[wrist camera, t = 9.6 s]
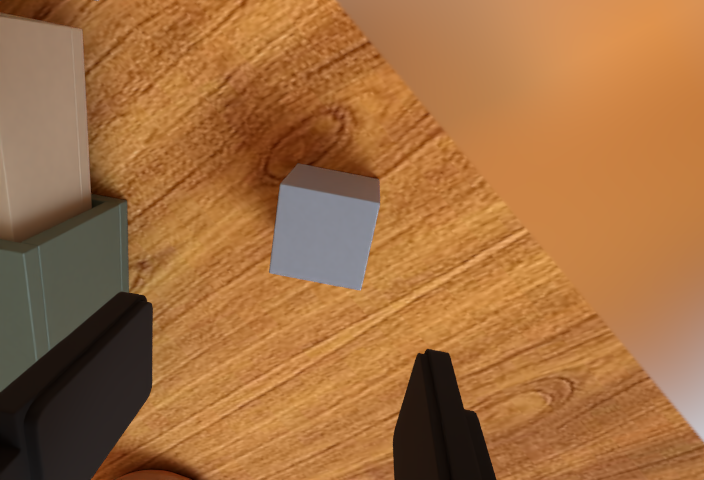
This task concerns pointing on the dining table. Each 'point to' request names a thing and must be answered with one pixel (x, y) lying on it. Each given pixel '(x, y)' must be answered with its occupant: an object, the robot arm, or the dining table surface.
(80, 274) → the cabinet
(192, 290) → the dining table surface
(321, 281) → the block
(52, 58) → the drawer
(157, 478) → the donut
